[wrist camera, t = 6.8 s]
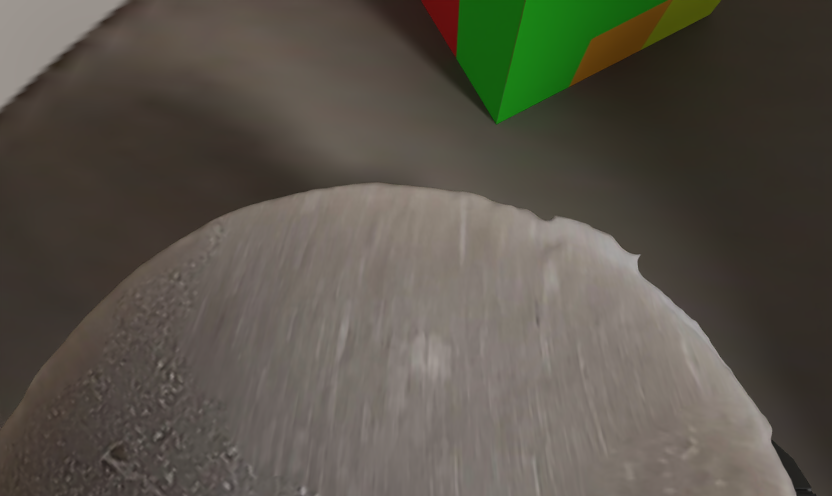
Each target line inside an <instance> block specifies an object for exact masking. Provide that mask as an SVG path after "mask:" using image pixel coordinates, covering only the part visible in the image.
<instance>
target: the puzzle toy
mask: <svg viewBox="0 0 832 496" xmlns="http://www.w3.org/2000/svg"><path fill="white" fill-rule="evenodd" d="M421 1H422V3H423V5H424V6H425V8H426V10H427V11H428V13H429V15H430V16H431V18H432V19H433V21H434V23H435V24H436V26H437V28H438V29H439V31H440V33H441V34H442V36H443V38H444V39H445V41H446V42H447V44H448V46H449V47H450V49H451V51H452V52H453V54H454V56H455V57H456V59H457V61H458V62H459V64H460V65H461V67H462V69H463V70H464V72H465V74H466V75H467V77H468V79H469V80H470V82H471V84H472V85H473V87H474V88H475V90H476V92H477V93H478V95H479V97H480V98H481V100H482V102H483V103H484V105H485V107H486V108H487V110H488V111H489V113H490V115H491V116H492V118H493V120H494V121H495V123H496V124H498V123H500V122H502V121H504V120H506V119H508V118H510V117H512V116H514V115H516V114H517V113H519V112H521V111H523V110H525V109H527V108H529V107H531V106H533V105H535V104H537V103H539V102H541V101H543V100H545V99H547V98H549V97H550V96H552V95H554V94H556V93H558V92H560V91H562V90H564V89H566V88H568V87H570V86H572V85H574V84H576V83H578V82H580V81H582V80H584V79H585V78H587V77H589V76H591V75H593V74H595V73H597V72H599V71H601V70H603V69H605V68H607V67H609V66H611V65H613V64H615V63H617V62H619V61H620V60H622V59H624V58H626V57H628V56H630V55H632V54H634V53H636V52H638V51H640V50H642V49H644V48H646V47H648V46H650V45H652V44H653V43H655V42H657V41H659V40H661V39H663V38H665V37H667V36H669V35H671V34H673V33H675V32H677V31H679V30H681V29H683V28H685V27H687V26H688V25H690V24H692V23H694V22H696V21H698V20H700V19H702V18H704V17H706V16H708V15H710V14H711V13H712V11H713V10H714V9H715V8H716V6H717V5H718V4H719V2H720V1H721V0H421Z"/></svg>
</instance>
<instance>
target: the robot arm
mask: <svg viewBox="0 0 832 496" xmlns="http://www.w3.org/2000/svg"><path fill="white" fill-rule="evenodd" d="M771 443H772V445H773V447H774V448H775V450H776V452H777V454H778V456H779V458H780V460H781V463H782V465H783V467H784V468H785V470H786V472H787V473H788V475H789V477H790V479H791V481H792V484H793V487H794V489H795V492H796V496H816V494H813V493H812V491H811V486H810V485H809V483H808V482H807V480H806V478H805V477H804V475H803V474H802V472H801V471H800V469H799V468H798V466H797V465H796V463H795V461H794V460H793V458H791V457H790V456H789V455H788V454H787V453H786V452H785V451H784V450H783V449H781V448H780V447H779V446H778V445H777V444H776V443H775V442H774V441H773V440H771Z"/></svg>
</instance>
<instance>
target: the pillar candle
mask: <svg viewBox="0 0 832 496" xmlns="http://www.w3.org/2000/svg"><path fill="white" fill-rule="evenodd" d="M640 255H641V254H638V255H637V254H632V253H629V252H627V251H625V250H624V249H623V248H621V246H620V245H619V244H618V243H617V241H616V240H615V239H614V238H613V236H612V235H610V234H607V233H605V232H603V231H600V230H598V229H595V228H593V227H591V226H590V225H588V224H586V223H582V222H579V221H576V220H573V219H570V218H566V217H561V216H556V215H555V216H554V217H553V219H551V220H549V221H546V220H543V219H541V218H539V217H538V216H536V215H535V214H534V213H533V212H531V211H530V210H528V209H526V208H516V207H514V206H512V205H505V204H501V203H497V202H494V201H492V200H490V199H488V198H486V197H484V196H481V195H478V194H475V193H470V192H466V191H450V190H443V189H437V188H429V187H417V186H410V185H394V184H389V183H381V182H373V183H358V184H350V185H345V186H333V187H331V188H325V189H313V190H309V191H306V192H300V193H296V194H292V195H288V196H285V197H279V198H276V199H272V200H267V201H263V202H260V203H257V204H252V205H249V206H246V207H242V208H240V209H237V210H235V211H232V212H229V213H227V214H224V215H222V216H220V217H218V218H216V219H213V220H211V221H209V222H208V223H207V224H205V225H203V226H202V227H200V228H199V229H197V230H195V231H193V232H192V233H190V234H188V235H187V236H185V237H183V238H181V239H179V240H178V241H177V242H175V243H173V244H171V245H170V246H168V247H167V248H165V249H164V250H162V251H160V252H159V253H157V254H156V255H155V256H154V257H152V258H151V259H150V260H148V261H146V262H144V263H143V264H142V265H140V266H139V267H138V268H137V269H136V270H134V271H133V272H132V273H131V274H130V275H129V276H128V277H127V278H125V279H124V280H123V281H121V282H120V283H119V284H118V285H117V287H116V288H115V289H114V290H113V291H111V292H110V293H109V294H108V295H107V296H106V297H105V298H104V299H103V300H102V301H101V302H100V303H99V304H98V305H97V306H96V307H95V308H94V309H93V310H92V311H91V312H90V313H89V314H88V315H87V316H86V317H85V318H84V319H83V320H82V321H81V322H80V324H79V325H78V326H77V327H76V328H75V329H74V330H73V331H72V332H71V333H70V335H69V336H68V338H67V339H66V341H65V342H64V343H63V344H62V345H61V346H60V347H59V348H58V350H57V351H56V352H55V353H54V354H53V355H52V356H51V357H50V359H49V360H48V361H47V362H46V363H45V364H44V365H43V366H42V368H41V369H40V370H39V372H38V373H37V374H36V376H35V377H34V379H33V381H32V382H31V384H30V386H29V387H28V389H27V391H26V393H25V395H24V398H23V399H22V401H21V402H20V404H19V405H18V407H17V408H16V409H15V411H14V412H13V413H12V415H11V416H10V417H9V418H8V419H7V421H6V422H5V424H4V425H3V427H2V428H1V429H0V496H796V492H795V489H794V487H793V484H792V481H791V479H790V477H789V475H788V473H787V472H786V470H785V468H784V467H783V465H782V463H781V460H780V458H779V456H778V454H777V452H776V450H775V448H774V447H773V445H772V443H771V435H772V428H771V425H770V424H769V422H768V420H767V419H766V417H765V416H764V415H763V414H762V413H761V412H760V411H759V409H758V407H757V406H756V405H755V403H754V402H753V400H752V399H751V398H750V397H749V396H748V394H747V393H746V391H745V390H744V388H743V387H742V386H741V384H740V383H739V382H738V380H737V379H736V377H735V376H734V374H733V372H732V370H731V369H730V368H729V367H728V366H727V365H726V364H725V363H724V361H723V360H722V359H721V357H720V356H719V354H718V353H717V351H716V349H715V348H714V347H713V345H712V344H711V342H710V340H709V338H708V337H707V336H706V334H705V333H704V332H703V330H702V329H701V328H700V326H699V325H698V323H697V322H696V321H695V320H693V319H691V318H690V317H689V316H688V315H687V314H686V313H685V312H684V311H683V310H682V309H681V308H679V307H678V306H677V305H675V304H674V303H673V302H672V301H671V299H670V298H669V297H667V296H666V295H665V294H664V293H663V292H662V291H661V290H659V289H658V288H657V287H656V286H654V285H653V284H651V283H650V282H649V281H647V280H646V279H645V278H643V277H642V275H641V274H640V272H639V271H638V264H637V260H638V258H639V256H640Z"/></svg>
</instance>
